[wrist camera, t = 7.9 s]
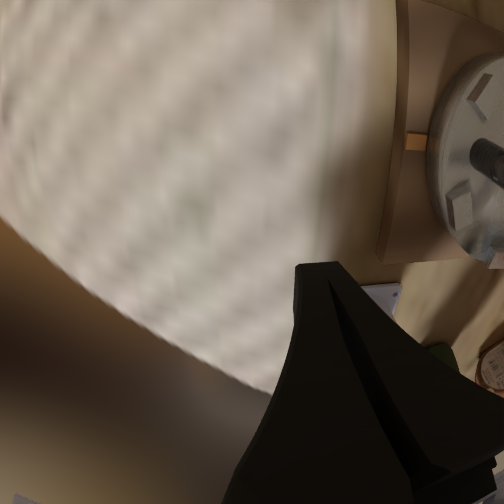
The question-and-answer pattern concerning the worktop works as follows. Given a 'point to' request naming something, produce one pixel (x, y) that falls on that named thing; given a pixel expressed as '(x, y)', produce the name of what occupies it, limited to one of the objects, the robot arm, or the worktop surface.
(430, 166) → the grey disc with blocks
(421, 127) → the base board
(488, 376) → the tin
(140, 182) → the worktop surface
